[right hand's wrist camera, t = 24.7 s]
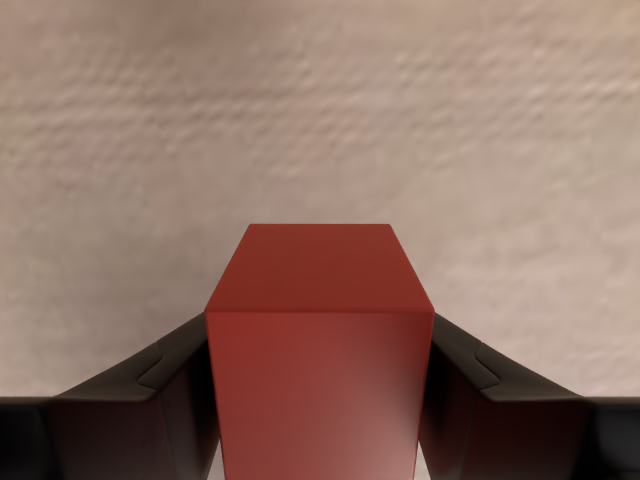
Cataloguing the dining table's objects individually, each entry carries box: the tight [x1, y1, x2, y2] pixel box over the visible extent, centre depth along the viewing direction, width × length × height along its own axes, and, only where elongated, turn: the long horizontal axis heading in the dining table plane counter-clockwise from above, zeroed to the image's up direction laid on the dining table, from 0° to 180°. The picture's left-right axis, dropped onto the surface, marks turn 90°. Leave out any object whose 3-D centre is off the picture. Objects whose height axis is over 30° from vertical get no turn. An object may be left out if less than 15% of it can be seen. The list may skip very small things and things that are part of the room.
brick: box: [204, 224, 435, 480], centre depth 10 cm, size 5×4×5 cm
